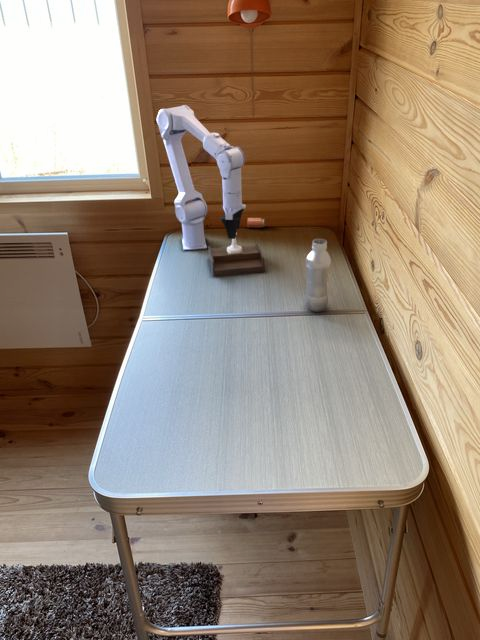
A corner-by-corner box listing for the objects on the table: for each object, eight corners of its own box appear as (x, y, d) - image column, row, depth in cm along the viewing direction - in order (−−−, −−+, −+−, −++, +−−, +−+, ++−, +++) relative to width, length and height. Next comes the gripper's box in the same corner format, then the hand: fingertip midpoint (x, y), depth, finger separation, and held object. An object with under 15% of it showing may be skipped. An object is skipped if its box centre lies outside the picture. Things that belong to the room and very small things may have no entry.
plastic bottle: (326, 315, 141) (331, 247, 129) (302, 313, 142) (305, 245, 130) (328, 304, 146) (334, 237, 134) (305, 301, 147) (308, 235, 135)
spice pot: (248, 225, 195) (265, 225, 194) (247, 229, 192) (264, 229, 191) (248, 216, 192) (264, 216, 192) (247, 219, 190) (264, 220, 189)
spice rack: (209, 260, 170) (208, 246, 167) (257, 256, 172) (257, 242, 169) (213, 276, 160) (212, 261, 157) (264, 272, 162) (264, 257, 160)
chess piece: (242, 246, 168) (241, 217, 162) (242, 253, 164) (241, 223, 158) (227, 247, 168) (225, 217, 162) (226, 253, 164) (225, 223, 158)
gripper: (241, 199, 149) (242, 243, 157) (248, 183, 161) (249, 225, 168) (217, 198, 149) (220, 242, 157) (226, 183, 161) (228, 224, 169)
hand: (233, 233), depth 163 cm, fingers open, 7 cm apart
